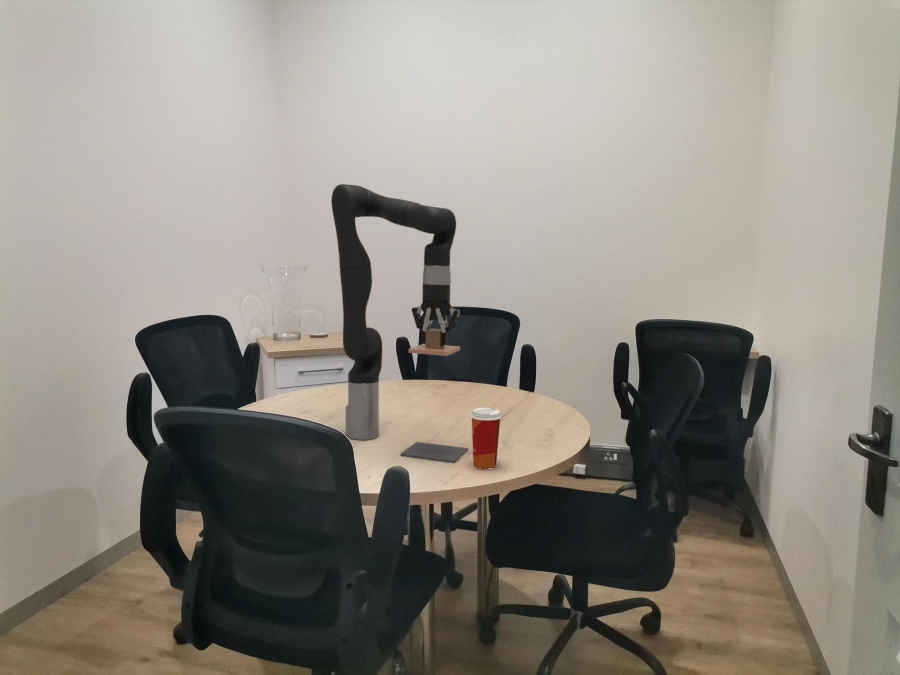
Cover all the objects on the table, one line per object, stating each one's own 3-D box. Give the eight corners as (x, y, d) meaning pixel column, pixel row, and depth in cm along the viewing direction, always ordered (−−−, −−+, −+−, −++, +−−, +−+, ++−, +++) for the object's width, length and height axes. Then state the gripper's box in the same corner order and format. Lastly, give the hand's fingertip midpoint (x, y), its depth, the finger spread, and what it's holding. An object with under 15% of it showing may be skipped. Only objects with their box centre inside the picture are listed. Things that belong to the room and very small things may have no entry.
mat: (400, 455, 171) (400, 453, 170) (416, 443, 182) (416, 441, 182) (454, 463, 165) (454, 461, 165) (468, 450, 177) (468, 448, 177)
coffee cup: (481, 458, 170) (482, 405, 168) (506, 465, 164) (507, 410, 162) (462, 466, 163) (463, 411, 161) (487, 473, 158) (489, 416, 156)
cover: (408, 352, 165) (408, 330, 165) (423, 347, 176) (424, 326, 175) (447, 355, 162) (447, 333, 161) (460, 350, 172) (460, 328, 171)
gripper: (406, 282, 165) (405, 345, 167) (457, 284, 160) (455, 349, 163) (417, 281, 172) (416, 341, 174) (465, 283, 167) (464, 345, 170)
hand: (435, 345), depth 169 cm, fingers closed on cover, 4 cm apart
